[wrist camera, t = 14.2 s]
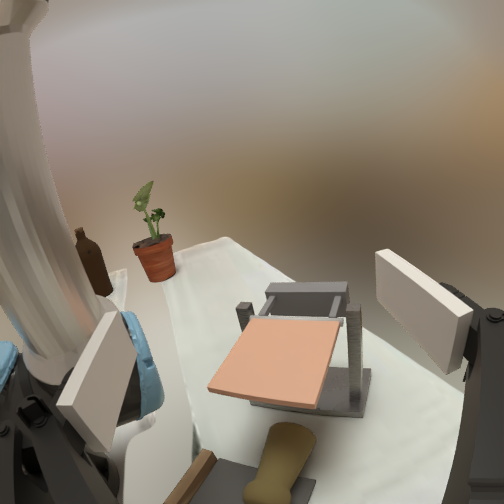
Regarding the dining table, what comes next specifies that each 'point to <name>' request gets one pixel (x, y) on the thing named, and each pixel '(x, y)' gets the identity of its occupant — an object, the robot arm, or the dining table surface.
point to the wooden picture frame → (193, 478)
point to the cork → (280, 464)
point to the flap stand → (333, 372)
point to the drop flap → (286, 346)
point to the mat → (241, 485)
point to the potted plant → (154, 242)
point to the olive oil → (93, 264)
